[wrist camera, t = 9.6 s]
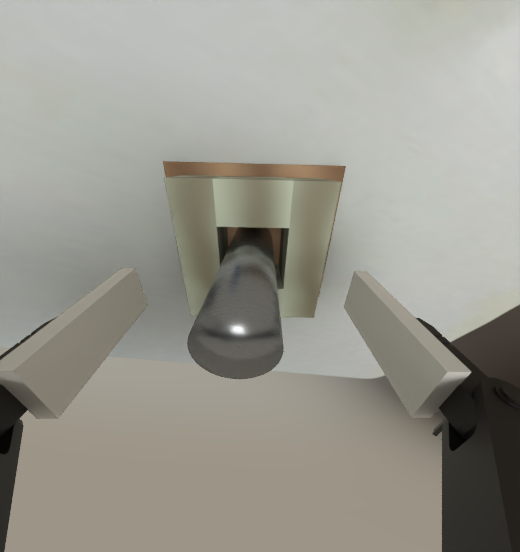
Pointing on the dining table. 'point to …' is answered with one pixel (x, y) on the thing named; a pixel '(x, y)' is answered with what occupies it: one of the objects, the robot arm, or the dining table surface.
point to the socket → (254, 223)
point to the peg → (241, 311)
